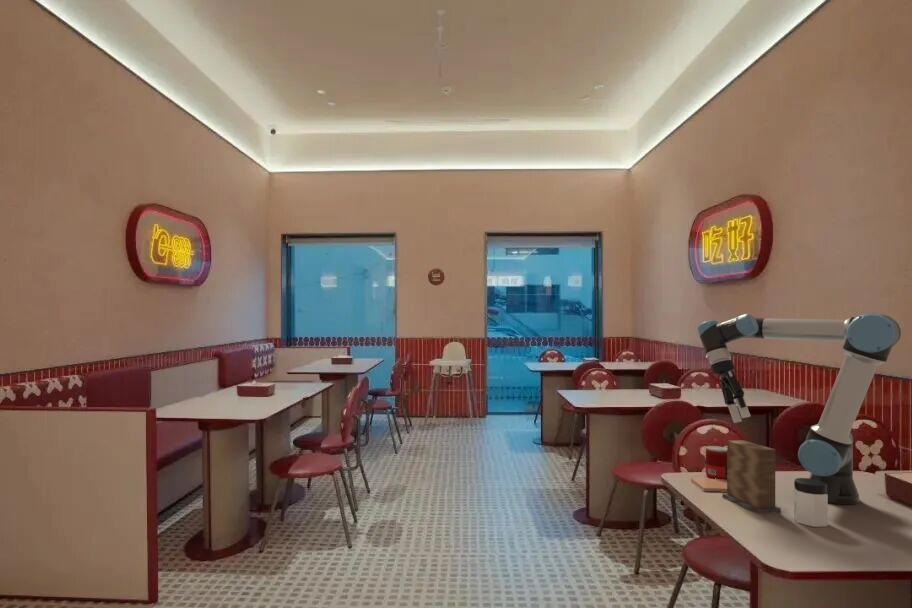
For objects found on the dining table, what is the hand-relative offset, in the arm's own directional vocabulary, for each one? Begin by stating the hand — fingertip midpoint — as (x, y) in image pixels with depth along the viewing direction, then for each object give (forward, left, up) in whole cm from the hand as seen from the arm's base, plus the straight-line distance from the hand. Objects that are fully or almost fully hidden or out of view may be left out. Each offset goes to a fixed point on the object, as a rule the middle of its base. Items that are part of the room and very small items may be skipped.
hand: (742, 420), depth 195 cm
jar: (-25, +15, -25) cm, 39 cm away
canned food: (+14, -12, -25) cm, 31 cm away
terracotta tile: (+9, +2, -25) cm, 27 cm away
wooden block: (-7, +12, -25) cm, 29 cm away
